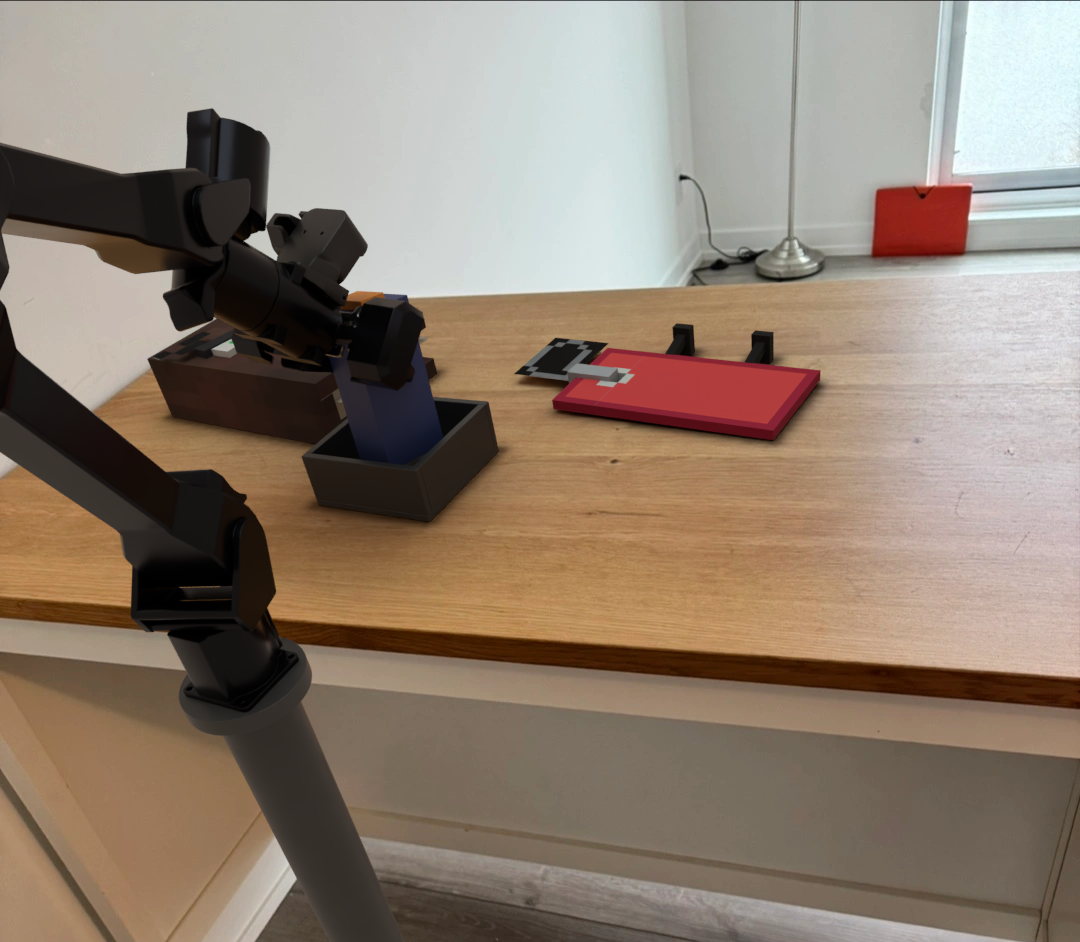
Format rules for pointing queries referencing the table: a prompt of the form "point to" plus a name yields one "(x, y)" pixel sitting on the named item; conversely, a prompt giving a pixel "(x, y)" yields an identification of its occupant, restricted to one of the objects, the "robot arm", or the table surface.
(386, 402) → the block
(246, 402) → the decorative book
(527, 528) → the table surface
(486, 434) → the bin
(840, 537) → the table surface
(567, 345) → the red board with handle
